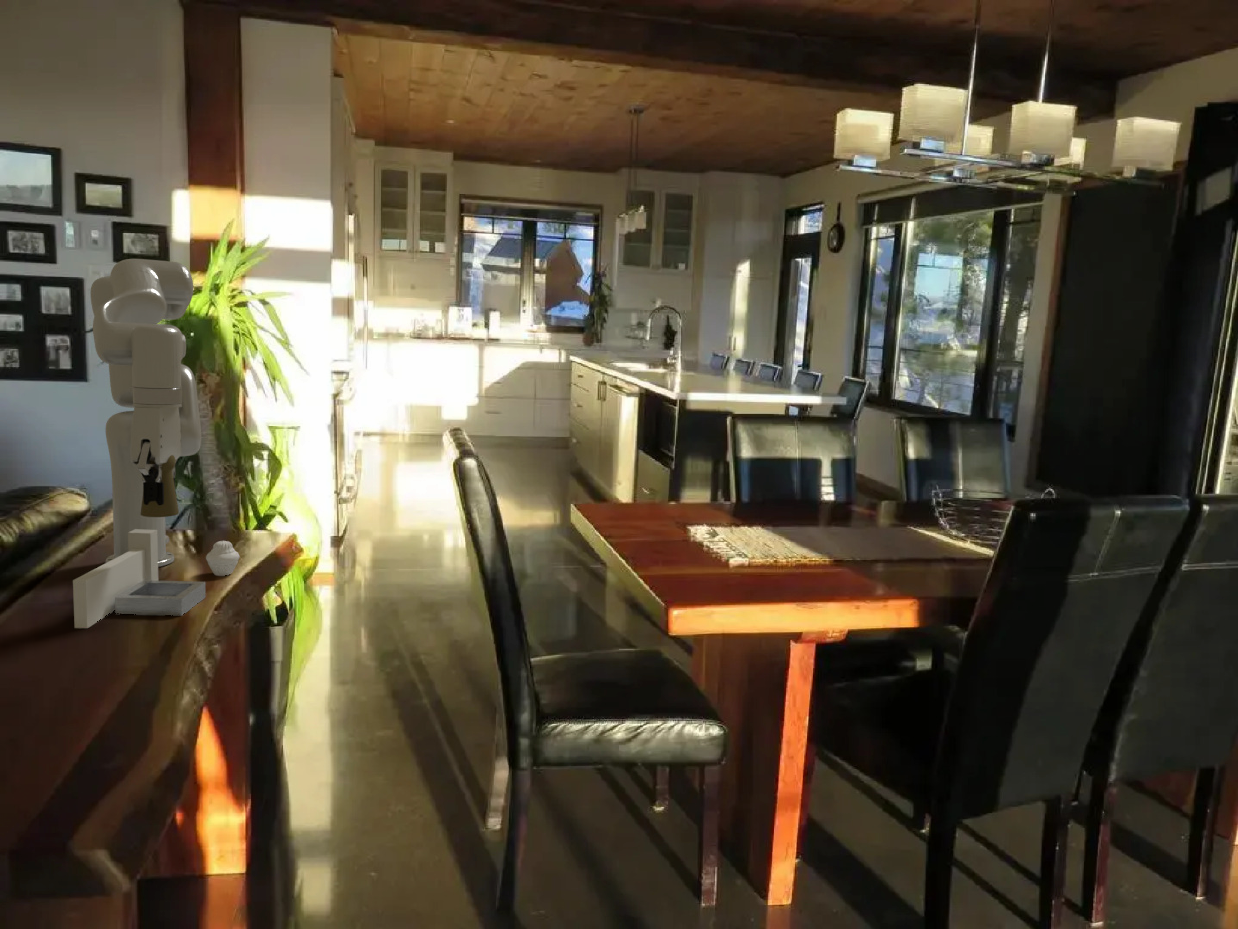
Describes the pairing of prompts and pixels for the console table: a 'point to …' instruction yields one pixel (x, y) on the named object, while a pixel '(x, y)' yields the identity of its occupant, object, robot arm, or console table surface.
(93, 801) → the console table surface
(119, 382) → the robot arm
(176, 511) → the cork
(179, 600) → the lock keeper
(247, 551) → the console table surface
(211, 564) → the muffin
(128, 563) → the door panel
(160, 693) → the console table surface
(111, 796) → the console table surface
